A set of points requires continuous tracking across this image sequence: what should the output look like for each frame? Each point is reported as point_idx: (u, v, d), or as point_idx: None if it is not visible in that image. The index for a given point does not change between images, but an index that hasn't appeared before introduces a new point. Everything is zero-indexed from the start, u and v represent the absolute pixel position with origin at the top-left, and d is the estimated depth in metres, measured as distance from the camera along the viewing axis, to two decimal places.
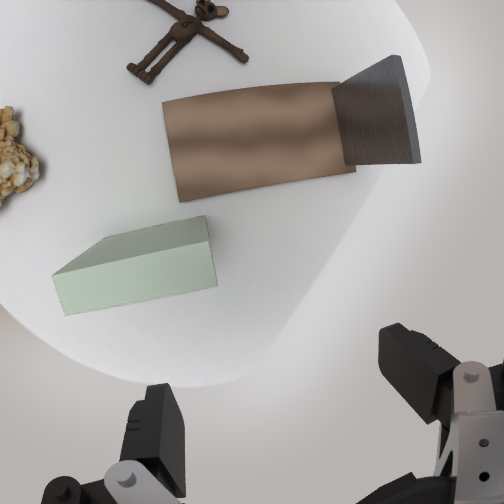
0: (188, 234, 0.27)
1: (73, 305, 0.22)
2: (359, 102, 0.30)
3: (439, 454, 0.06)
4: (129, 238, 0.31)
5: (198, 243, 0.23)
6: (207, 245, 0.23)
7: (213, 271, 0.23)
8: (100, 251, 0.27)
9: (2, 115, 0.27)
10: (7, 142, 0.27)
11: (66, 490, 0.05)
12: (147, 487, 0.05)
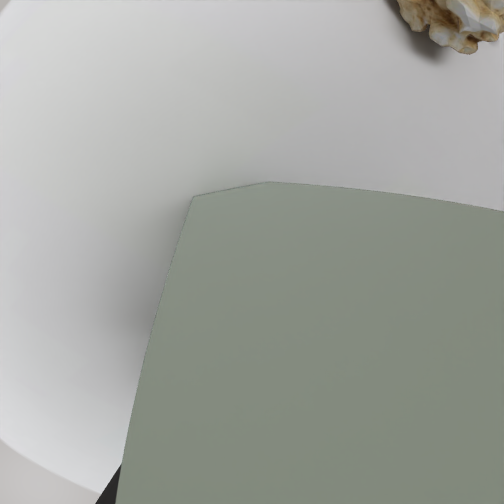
0: None
1: None
2: None
3: None
4: None
5: None
6: None
7: None
8: None
9: None
10: None
11: None
12: None
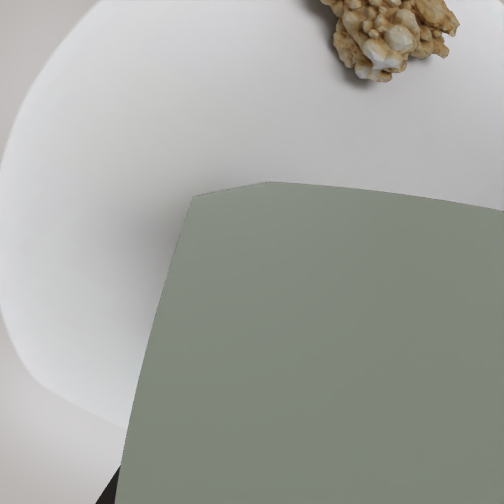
0: None
1: None
2: None
3: None
4: None
5: None
6: None
7: None
8: None
9: (441, 41, 0.20)
10: (420, 44, 0.18)
11: None
12: None
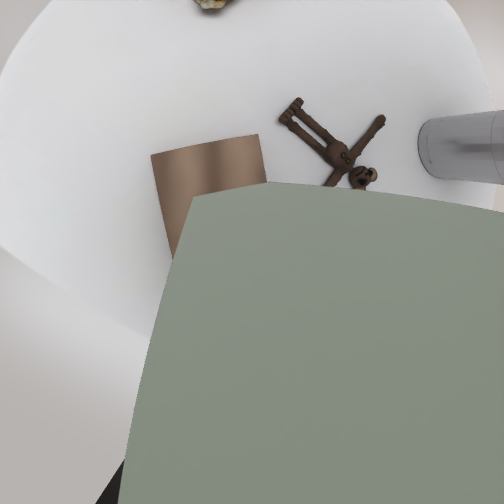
0: None
1: None
2: None
3: None
4: None
5: None
6: None
7: None
8: None
9: None
10: None
11: None
12: None
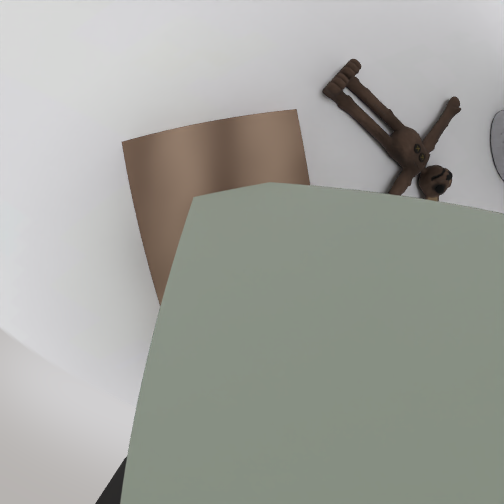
0: None
1: None
2: None
3: None
4: None
5: None
6: None
7: None
8: None
9: None
10: None
11: None
12: None
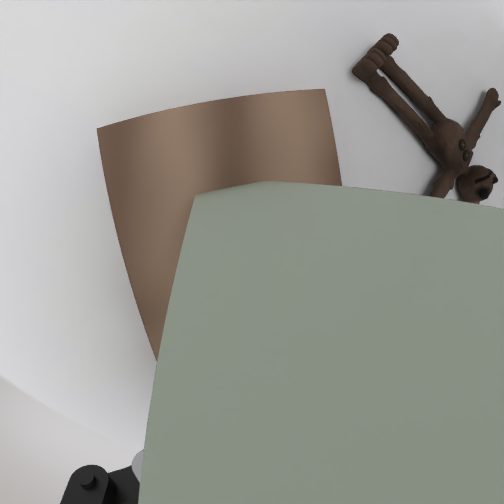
0: None
1: None
2: None
3: None
4: None
5: None
6: None
7: None
8: None
9: None
10: None
11: (93, 479, 0.05)
12: None
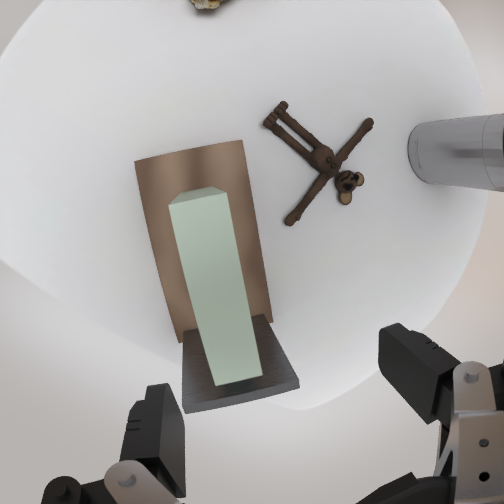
0: None
1: (185, 222, 0.18)
2: None
3: (439, 454, 0.06)
4: None
5: (260, 367, 0.22)
6: (258, 374, 0.22)
7: (231, 381, 0.21)
8: None
9: None
10: None
11: (66, 490, 0.05)
12: (147, 487, 0.05)
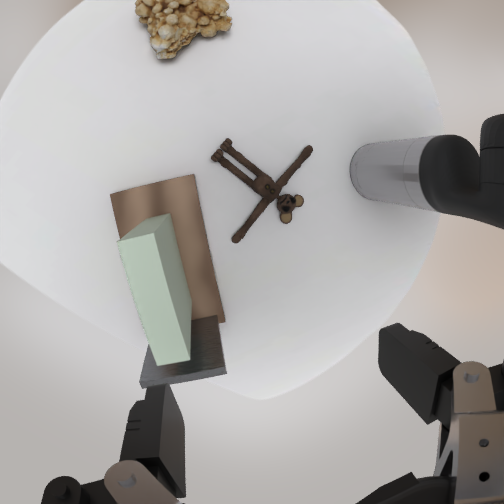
0: (186, 326, 0.34)
1: (128, 253, 0.26)
2: (196, 338, 0.40)
3: (439, 454, 0.06)
4: (174, 256, 0.37)
5: (187, 353, 0.30)
6: (186, 359, 0.30)
7: (168, 363, 0.30)
8: (167, 247, 0.33)
9: (223, 21, 0.35)
10: (192, 29, 0.34)
11: (66, 490, 0.05)
12: (147, 487, 0.05)
